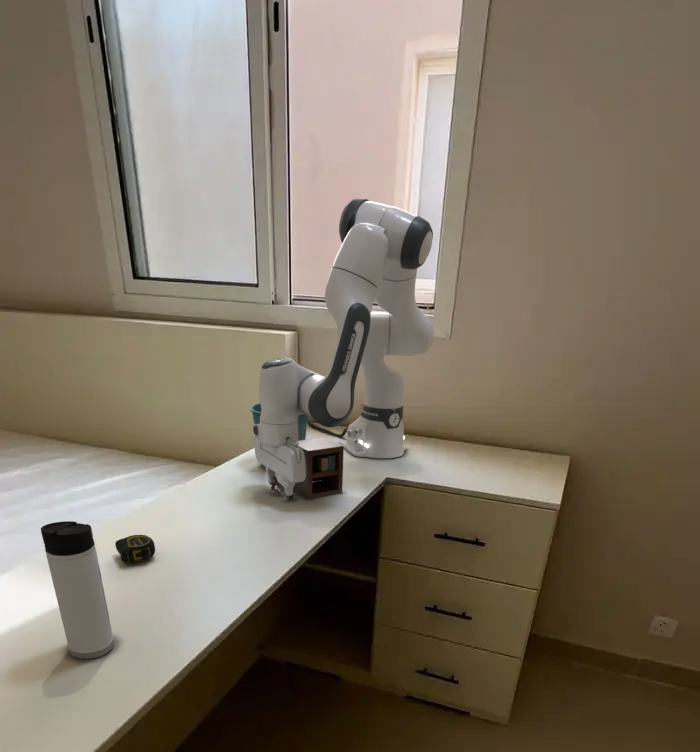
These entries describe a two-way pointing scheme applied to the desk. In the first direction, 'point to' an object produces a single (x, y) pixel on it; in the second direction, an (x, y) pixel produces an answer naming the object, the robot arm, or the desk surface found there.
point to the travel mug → (78, 588)
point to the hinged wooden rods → (281, 487)
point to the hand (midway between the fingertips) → (280, 489)
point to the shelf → (321, 468)
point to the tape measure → (135, 548)
